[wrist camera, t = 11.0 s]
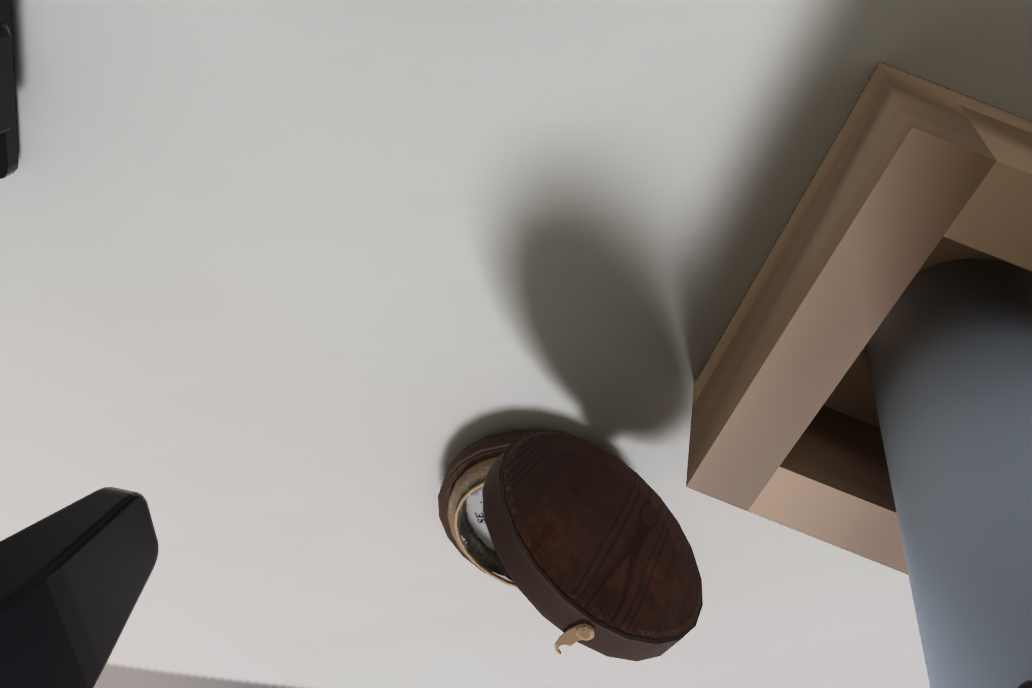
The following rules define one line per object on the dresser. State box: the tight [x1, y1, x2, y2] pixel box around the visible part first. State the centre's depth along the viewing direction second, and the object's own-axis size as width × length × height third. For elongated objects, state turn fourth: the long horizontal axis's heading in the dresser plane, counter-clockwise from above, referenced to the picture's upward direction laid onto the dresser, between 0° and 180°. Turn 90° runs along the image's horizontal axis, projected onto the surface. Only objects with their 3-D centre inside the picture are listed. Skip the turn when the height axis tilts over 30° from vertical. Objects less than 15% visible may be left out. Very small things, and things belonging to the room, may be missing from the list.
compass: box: [438, 431, 703, 661], centre depth 23 cm, size 8×8×7 cm
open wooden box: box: [686, 63, 1032, 575], centre depth 18 cm, size 9×9×4 cm
